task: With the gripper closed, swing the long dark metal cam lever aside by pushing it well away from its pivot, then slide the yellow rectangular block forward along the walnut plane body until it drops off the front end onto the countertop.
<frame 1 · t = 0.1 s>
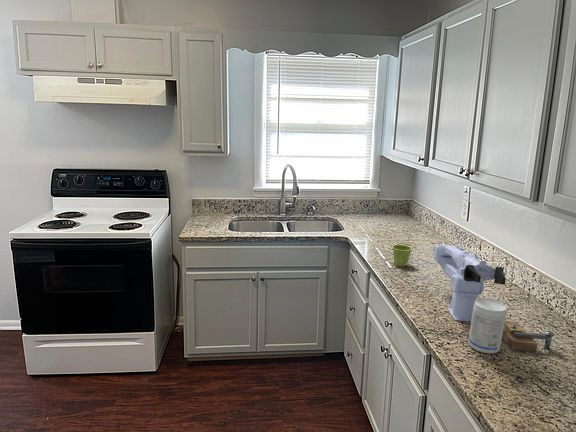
hand: (491, 280, 142), 22 cm above the worktop, tool horizontal, fingers open, 7 cm apart
yellow rectangular block: (512, 331, 150), point 3 cm above the worktop, touching plane body
plane body: (513, 339, 151), on the worktop
supplement tub: (483, 347, 145), on the worktop
cam lever: (532, 339, 146), point 3 cm above the worktop, hinge at 0.0°
plant pot: (400, 265, 220), on the worktop
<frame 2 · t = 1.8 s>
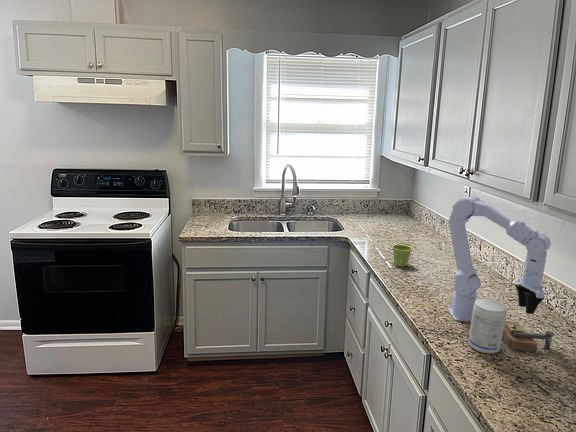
hand: (526, 309, 151), 10 cm above the worktop, tool pointing down, fingers open, 5 cm apart
nothing on the worktop moved.
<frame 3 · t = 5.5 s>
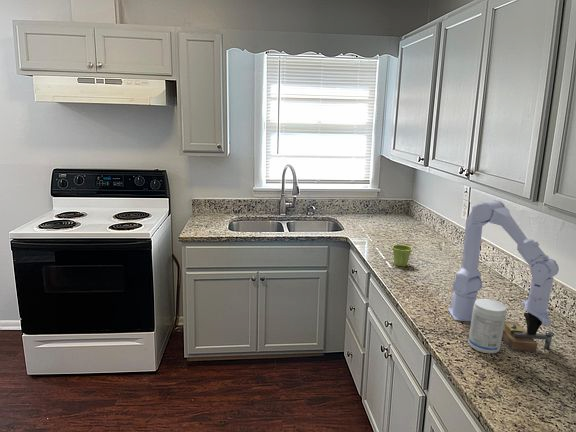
hand: (531, 335, 146), 4 cm above the worktop, tool pointing down, fingers closed, pressing on cam lever
cam lever: (532, 339, 146), point 3 cm above the worktop, hinge at 1.8°, touching gripper
everything else where it was.
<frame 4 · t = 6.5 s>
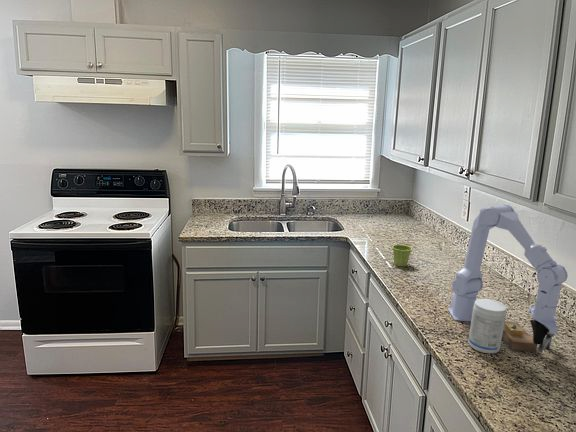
hand: (537, 343, 142), 3 cm above the worktop, tool pointing down, fingers closed, pressing on cam lever
cam lever: (544, 345, 142), point 3 cm above the worktop, hinge at 52.4°, touching gripper
everything else where it was.
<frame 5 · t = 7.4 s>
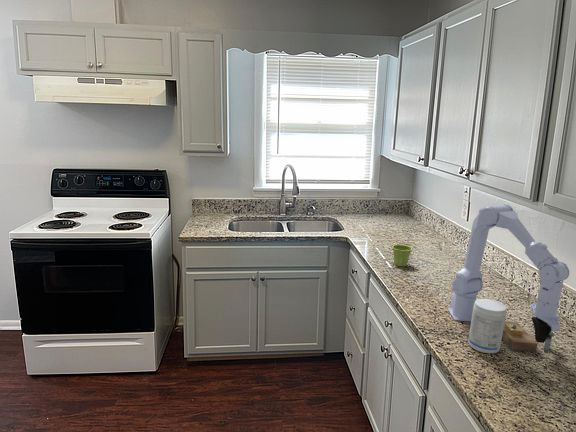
hand: (539, 341, 141), 5 cm above the worktop, tool pointing down, fingers closed
cam lever: (546, 346, 142), point 3 cm above the worktop, hinge at 60.2°
everything else where it was.
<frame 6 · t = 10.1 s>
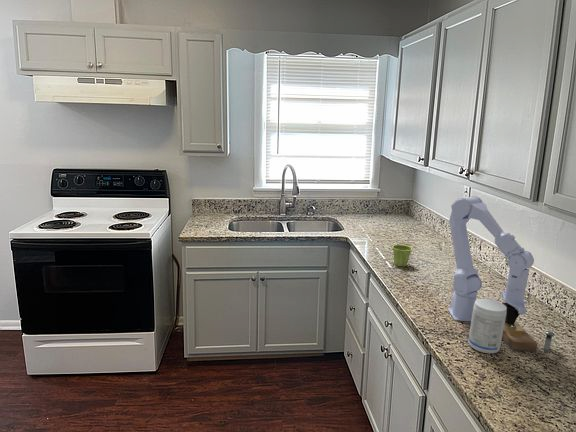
hand: (509, 325, 153), 4 cm above the worktop, tool pointing down, fingers closed
yellow rectangular block: (512, 332, 149), point 3 cm above the worktop, touching gripper, plane body
everything else where it was.
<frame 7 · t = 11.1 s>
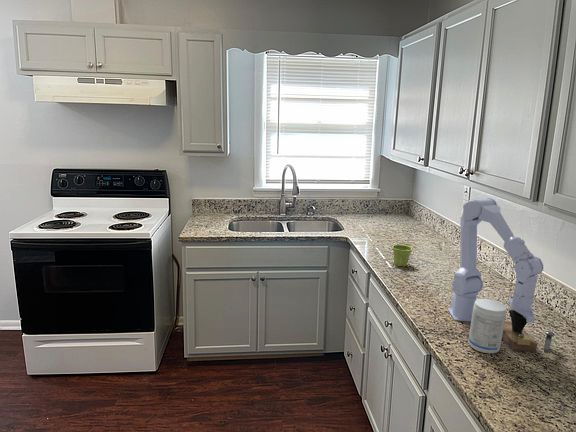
hand: (516, 333, 147), 4 cm above the worktop, tool pointing down, fingers closed
yellow rectangular block: (520, 340, 144), point 3 cm above the worktop, touching gripper
everything else where it was.
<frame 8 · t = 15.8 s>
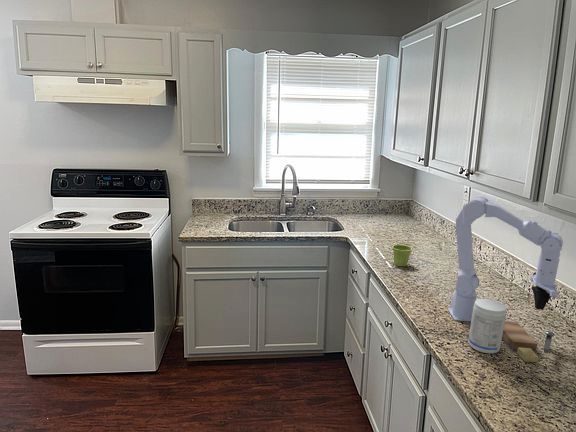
hand: (539, 308, 151), 10 cm above the worktop, tool pointing down, fingers closed
yellow rectangular block: (528, 351, 138), point 2 cm above the worktop, tilted 180°
everything else where it was.
at the end: cam lever at +60° (first picture: +0°); yellow rectangular block inside the target area (4.6 cm from its centre), point 2.4 cm above the worktop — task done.
